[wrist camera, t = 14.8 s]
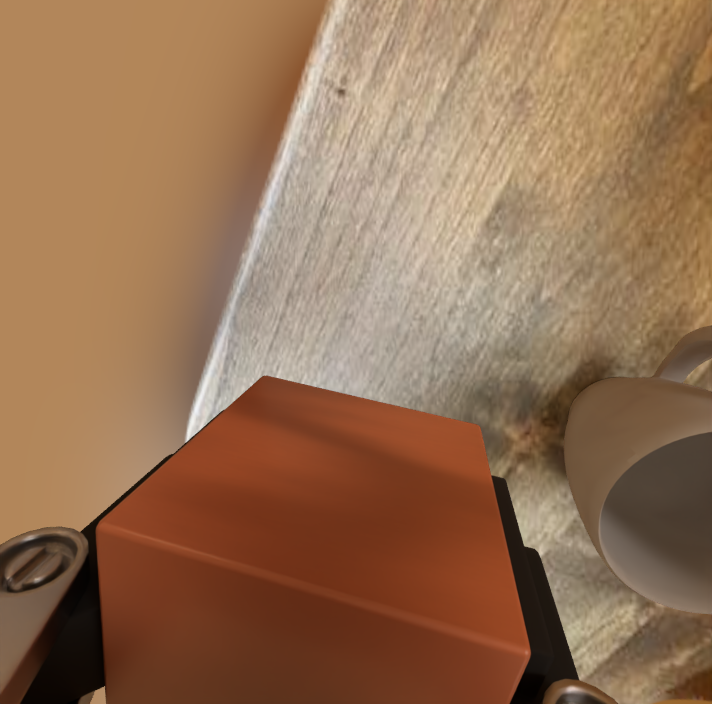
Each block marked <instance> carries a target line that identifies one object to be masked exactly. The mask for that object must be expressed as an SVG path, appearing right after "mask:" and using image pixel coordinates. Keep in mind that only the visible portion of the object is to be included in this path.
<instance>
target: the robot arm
mask: <svg viewBox="0 0 712 704" xmlns="http://www.w3.org/2000/svg"><path fill="white" fill-rule="evenodd" d="M223 411H224V410H223ZM223 411H221V412H220V413H219V414H218V415H217V416H219V415H220V414H221V413H222V412H223ZM217 416H216V417H217ZM216 417H215V418H216ZM215 418H213V419H212V420H211V421H210V422H209V423H208V424H210V423H211V422H212V421H213V420H214V419H215ZM208 424H207V425H208ZM207 425H206V426H207ZM206 426H204V427H203V428H202V429H201V430H200V431H199V432H201V431H202V430H203V429H204V428H205V427H206ZM199 432H198V433H199ZM198 433H196V434H195V435H194V436H193V437H192V438H191V439H190V440H192V439H193V438H194V437H195V436H196V435H197V434H198ZM190 440H189V441H190ZM189 441H187V442H186V443H185V444H184V445H183V446H182V447H181V448H183V447H184V446H185V445H186V444H187V443H188V442H189ZM181 448H180V449H181ZM180 449H178V451H179V450H180ZM178 451H176V452H175V453H174V454H171V455H169V456H167V457H166V458H164V459H163V460H162V461H161V462H160V463H159V464H158V465H156V466H155V467H154V468H153V469H152V470H151V471H150V472H148V473H147V474H146V475H145V476H144V477H143V478H142V479H140V480H139V481H138V482H137V483H136V484H135V485H134V486H132V487H131V488H130V489H129V490H128V491H127V492H126V493H124V494H123V495H122V496H121V497H120V498H119V499H117V500H116V501H115V502H114V503H113V504H112V505H111V506H110V507H108V508H107V509H106V510H105V511H104V512H103V513H101V514H100V515H99V516H98V517H97V518H96V519H95V520H93V521H92V522H91V523H90V524H89V525H88V526H87V527H85V528H84V529H83V530H82V531H81V532H78V531H76V530H75V529H71V528H65V527H46V528H41V529H37V530H33V531H29V532H26V533H23V534H21V535H19V536H16V537H14V538H11V539H10V540H8V541H6V542H5V543H3V544H1V545H0V704H90V702H91V700H92V697H93V695H94V692H95V690H97V689H100V688H102V687H104V686H105V677H104V660H103V644H102V628H101V611H100V595H99V578H98V562H97V546H96V527H97V525H98V523H99V522H100V521H101V520H102V519H103V518H104V517H105V516H106V515H107V514H108V513H110V512H111V511H112V510H113V509H114V508H115V507H116V506H117V505H119V504H120V503H121V502H122V501H123V500H124V499H125V498H126V497H128V496H129V495H130V494H131V493H132V492H133V491H134V490H135V489H137V488H138V487H139V486H140V485H141V484H142V483H143V482H144V481H146V480H147V479H148V478H149V477H150V476H151V475H152V474H153V473H155V472H156V471H157V470H158V469H159V468H160V467H161V466H162V465H163V464H165V463H166V462H167V461H168V460H169V459H170V458H171V457H172V456H174V455H175V454H176V453H177V452H178ZM491 477H492V481H493V486H494V490H495V495H496V499H497V503H498V508H499V512H500V517H501V521H502V526H503V530H504V534H505V539H506V543H507V548H508V552H509V557H510V561H511V565H512V570H513V574H514V579H515V583H516V588H517V592H518V596H519V601H520V605H521V610H522V614H523V619H524V623H525V627H526V632H527V636H528V641H529V645H530V650H531V655H530V659H529V661H528V664H527V666H526V668H525V670H524V673H523V675H522V677H521V679H520V682H519V684H518V686H517V688H516V690H515V693H514V695H513V697H512V699H511V702H510V704H618V703H617V702H616V701H615V700H614V699H613V698H611V697H610V696H608V695H607V694H605V693H604V692H602V691H601V690H599V689H598V688H596V687H594V686H592V685H589V684H587V683H585V682H582V681H580V680H579V678H578V675H577V671H576V668H575V665H574V662H573V659H572V656H571V652H570V649H569V646H568V643H567V640H566V637H565V633H564V630H563V627H562V624H561V621H560V618H559V615H558V611H557V608H556V605H555V602H554V599H553V596H552V592H551V589H550V586H549V583H548V580H547V577H546V573H545V570H544V567H543V564H542V561H541V558H540V556H539V553H538V552H537V551H536V550H535V549H533V548H529V547H525V546H524V544H523V541H522V537H521V533H520V530H519V526H518V523H517V519H516V515H515V512H514V508H513V505H512V501H511V497H510V494H509V490H508V487H507V483H506V480H505V479H504V478H500V477H496V476H492V475H491Z"/></svg>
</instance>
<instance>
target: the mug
mask: <svg viewBox="0 0 712 704" xmlns="http://www.w3.org/2000/svg"><path fill="white" fill-rule="evenodd" d="M711 358H712V326H707V327H702V328H699V329H697V330H695V331H692V332H690V333H688V334H687V335H685V336H684V337H683V338H682V339H681V340H680V341H679V342H678V344H677V345H676V346H675V347H674V349H673V350H672V351H671V352H670V353H669V355H668V356H667V357H666V358H665V359H664V361H663V362H662V363H661V365H660V366H659V368H658V369H657V371H656V373H655V374H654V376H653V377H651V378H627V377H613V378H607V379H603V380H600V381H598V382H595V383H593V384H591V385H590V386H588V387H587V388H585V389H584V390H583V391H582V392H580V394H579V395H578V396H577V397H576V398H575V400H574V401H573V403H572V405H571V407H570V410H569V414H568V423H567V426H566V431H565V437H564V459H565V467H566V473H567V477H568V481H569V485H570V489H571V492H572V495H573V498H574V501H575V504H576V506H577V509H578V512H579V514H580V517H581V519H582V521H583V524H584V526H585V528H586V530H587V532H588V534H589V536H590V538H591V541H592V543H593V545H594V546H595V548H596V550H597V552H598V553H599V555H600V557H601V558H602V560H603V561H604V563H605V564H606V566H607V567H608V568H609V570H610V571H611V572H612V573H613V574H614V575H615V576H616V577H617V578H618V579H619V580H620V581H621V582H622V583H624V584H625V585H626V586H627V587H629V588H630V589H632V590H633V591H635V592H636V593H638V594H640V595H642V596H644V597H646V598H648V599H650V600H652V601H654V602H657V603H659V604H662V605H664V606H667V607H670V608H674V609H678V610H682V611H688V612H694V613H702V614H712V392H711V391H708V390H705V389H702V388H699V387H695V386H692V385H688V384H685V383H683V382H684V380H685V379H686V377H687V376H688V375H689V374H690V373H691V372H692V371H693V370H694V369H695V368H696V367H697V366H699V365H700V364H702V363H703V362H705V361H707V360H709V359H711Z"/></svg>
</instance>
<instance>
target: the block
mask: <svg viewBox="0 0 712 704" xmlns="http://www.w3.org/2000/svg"><path fill="white" fill-rule="evenodd" d="M96 546H97V562H98V578H99V595H100V611H101V628H102V644H103V660H104V677H105V693H106V704H510V702H511V699H512V697H513V695H514V693H515V690H516V688H517V686H518V684H519V682H520V679H521V677H522V675H523V673H524V670H525V668H526V666H527V664H528V661H529V659H530V655H531V650H530V645H529V641H528V636H527V632H526V627H525V623H524V619H523V614H522V610H521V605H520V601H519V596H518V592H517V588H516V583H515V579H514V574H513V570H512V565H511V561H510V557H509V552H508V548H507V543H506V539H505V534H504V530H503V526H502V521H501V517H500V512H499V508H498V503H497V499H496V495H495V490H494V486H493V481H492V477H491V473H490V468H489V464H488V459H487V455H486V450H485V446H484V442H483V437H482V433H481V428H480V426H478V425H476V424H472V423H468V422H463V421H459V420H455V419H450V418H446V417H442V416H438V415H433V414H429V413H425V412H420V411H416V410H412V409H408V408H403V407H399V406H395V405H390V404H386V403H382V402H377V401H373V400H369V399H365V398H360V397H356V396H352V395H347V394H343V393H339V392H335V391H330V390H326V389H322V388H317V387H313V386H309V385H304V384H300V383H296V382H292V381H287V380H283V379H279V378H274V377H270V376H262V377H261V378H260V379H259V380H258V381H257V382H256V383H254V384H253V385H252V386H251V387H250V388H249V389H248V390H247V391H245V392H244V393H243V394H242V395H241V396H240V397H239V398H238V399H236V400H235V401H234V402H233V403H232V404H231V405H230V406H229V407H227V408H226V409H225V410H224V411H223V412H222V413H221V414H220V415H219V416H217V417H216V418H215V419H214V420H213V421H212V422H211V423H210V424H208V425H207V426H206V427H205V428H204V429H203V430H202V431H201V432H199V433H198V434H197V435H196V436H195V437H194V438H193V439H192V440H190V441H189V442H188V443H187V444H186V445H185V446H184V447H183V448H181V449H180V450H179V451H178V452H177V453H176V454H175V455H174V456H172V457H171V458H170V459H169V460H168V461H167V462H166V463H165V464H163V465H162V466H161V467H160V468H159V469H158V470H157V471H156V472H155V473H153V474H152V475H151V476H150V477H149V478H148V479H147V480H146V481H144V482H143V483H142V484H141V485H140V486H139V487H138V488H137V489H135V490H134V491H133V492H132V493H131V494H130V495H129V496H128V497H126V498H125V499H124V500H123V501H122V502H121V503H120V504H119V505H117V506H116V507H115V508H114V509H113V510H112V511H111V512H110V513H108V514H107V515H106V516H105V517H104V518H103V519H102V520H101V521H100V522H99V523H98V525H97V527H96Z"/></svg>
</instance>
